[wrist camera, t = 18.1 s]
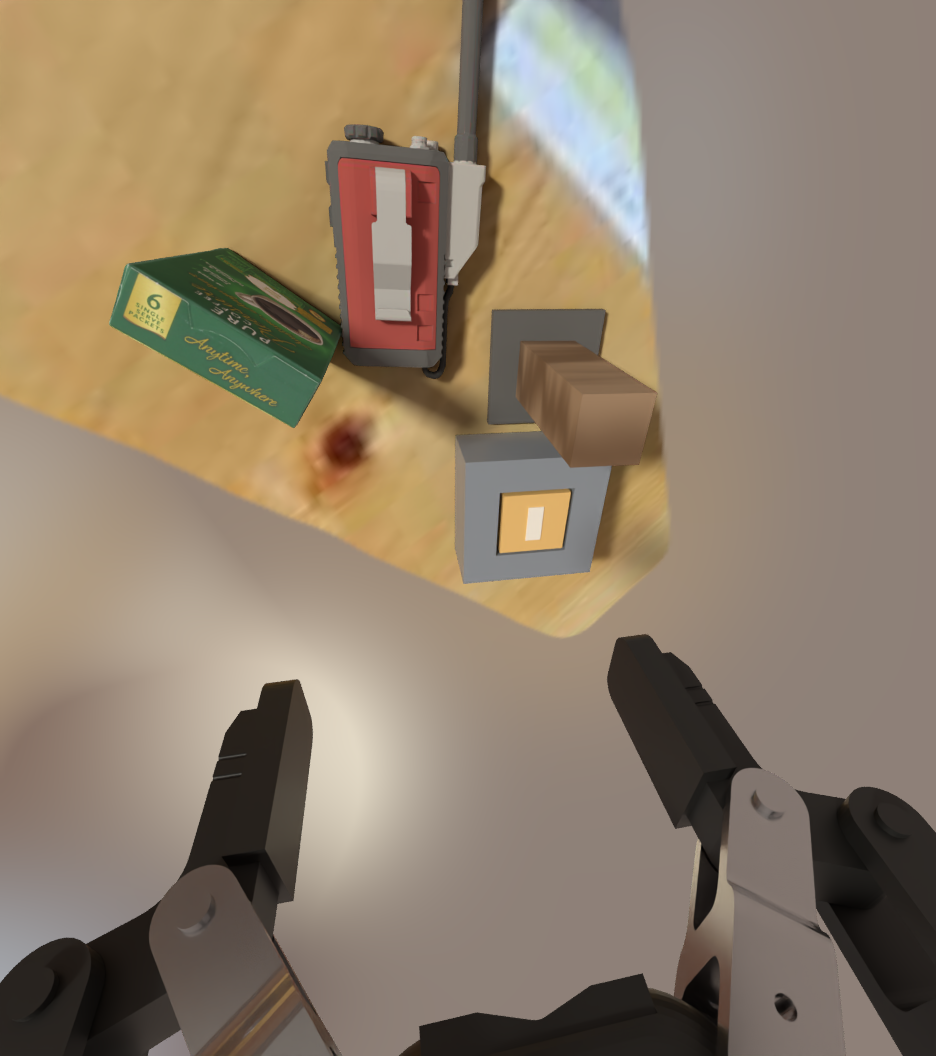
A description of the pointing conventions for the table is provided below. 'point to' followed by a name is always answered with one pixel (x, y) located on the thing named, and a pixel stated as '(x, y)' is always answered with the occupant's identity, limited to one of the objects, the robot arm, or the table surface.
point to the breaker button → (532, 520)
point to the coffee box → (229, 328)
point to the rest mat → (531, 327)
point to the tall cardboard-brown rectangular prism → (584, 403)
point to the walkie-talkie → (406, 228)
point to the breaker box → (518, 468)
